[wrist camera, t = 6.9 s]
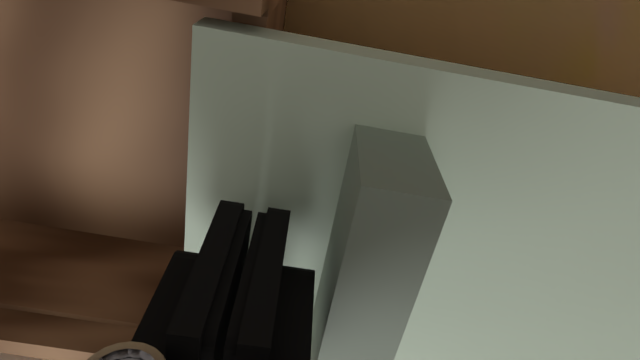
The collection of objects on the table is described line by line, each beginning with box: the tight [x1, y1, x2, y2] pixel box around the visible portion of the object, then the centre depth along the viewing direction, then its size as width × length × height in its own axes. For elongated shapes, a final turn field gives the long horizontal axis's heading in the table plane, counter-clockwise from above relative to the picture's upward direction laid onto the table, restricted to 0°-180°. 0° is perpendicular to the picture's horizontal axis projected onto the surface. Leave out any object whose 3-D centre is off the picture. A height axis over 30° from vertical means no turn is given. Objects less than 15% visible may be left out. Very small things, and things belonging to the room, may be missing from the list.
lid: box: [184, 17, 640, 360], centre depth 11 cm, size 15×10×4 cm, turn 80°
